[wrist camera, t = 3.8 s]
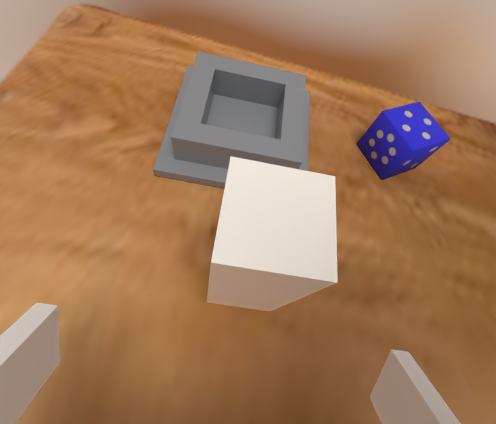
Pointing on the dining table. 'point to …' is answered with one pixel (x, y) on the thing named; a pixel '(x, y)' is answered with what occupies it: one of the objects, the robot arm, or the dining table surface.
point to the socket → (234, 120)
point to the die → (401, 139)
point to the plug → (273, 236)
